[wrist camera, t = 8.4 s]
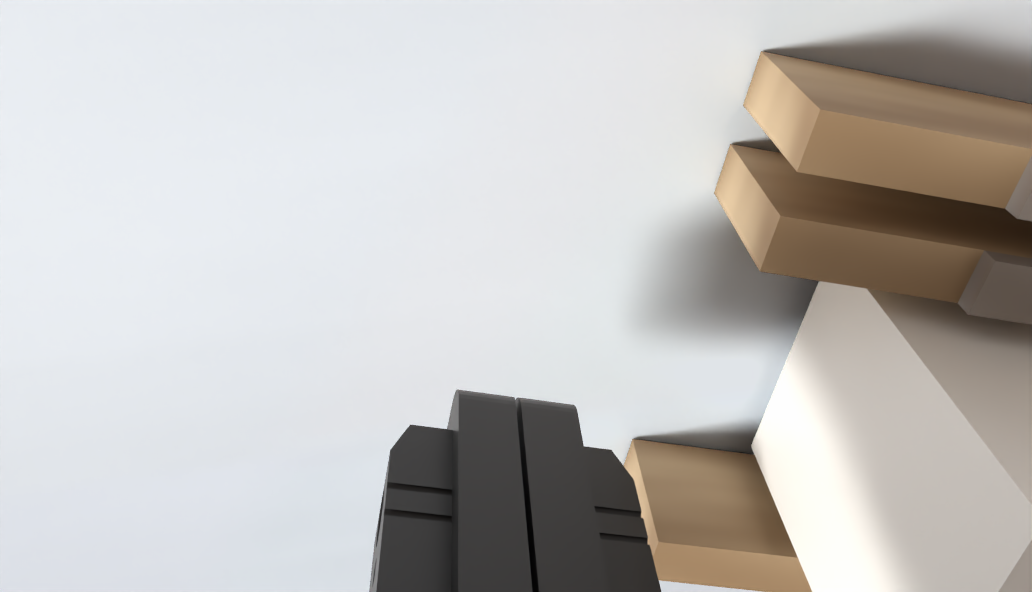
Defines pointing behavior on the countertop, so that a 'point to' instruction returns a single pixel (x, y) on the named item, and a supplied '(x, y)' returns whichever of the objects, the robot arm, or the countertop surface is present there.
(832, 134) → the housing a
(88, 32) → the countertop surface
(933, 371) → the tab
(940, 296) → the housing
